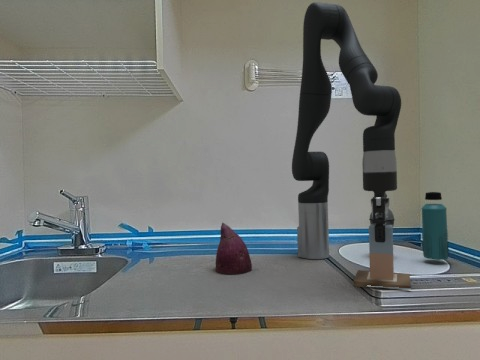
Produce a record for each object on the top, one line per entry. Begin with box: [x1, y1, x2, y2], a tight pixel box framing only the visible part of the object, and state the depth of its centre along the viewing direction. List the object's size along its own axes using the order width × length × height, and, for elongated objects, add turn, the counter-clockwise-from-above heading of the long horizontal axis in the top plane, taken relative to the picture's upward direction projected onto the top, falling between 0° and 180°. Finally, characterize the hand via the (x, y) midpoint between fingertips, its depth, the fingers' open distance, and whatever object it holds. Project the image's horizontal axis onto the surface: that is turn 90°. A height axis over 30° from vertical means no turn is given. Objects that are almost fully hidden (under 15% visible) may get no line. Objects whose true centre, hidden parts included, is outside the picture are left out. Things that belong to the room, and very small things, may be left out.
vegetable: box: [215, 221, 253, 275], centre depth 100 cm, size 10×10×15 cm
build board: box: [352, 269, 412, 289], centre depth 85 cm, size 12×10×1 cm
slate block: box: [368, 223, 394, 255], centre depth 85 cm, size 5×5×6 cm
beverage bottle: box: [421, 191, 450, 261], centre depth 101 cm, size 6×7×20 cm
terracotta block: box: [368, 253, 395, 280], centre depth 85 cm, size 5×5×6 cm
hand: (381, 238), depth 85 cm, fingers open, 8 cm apart
